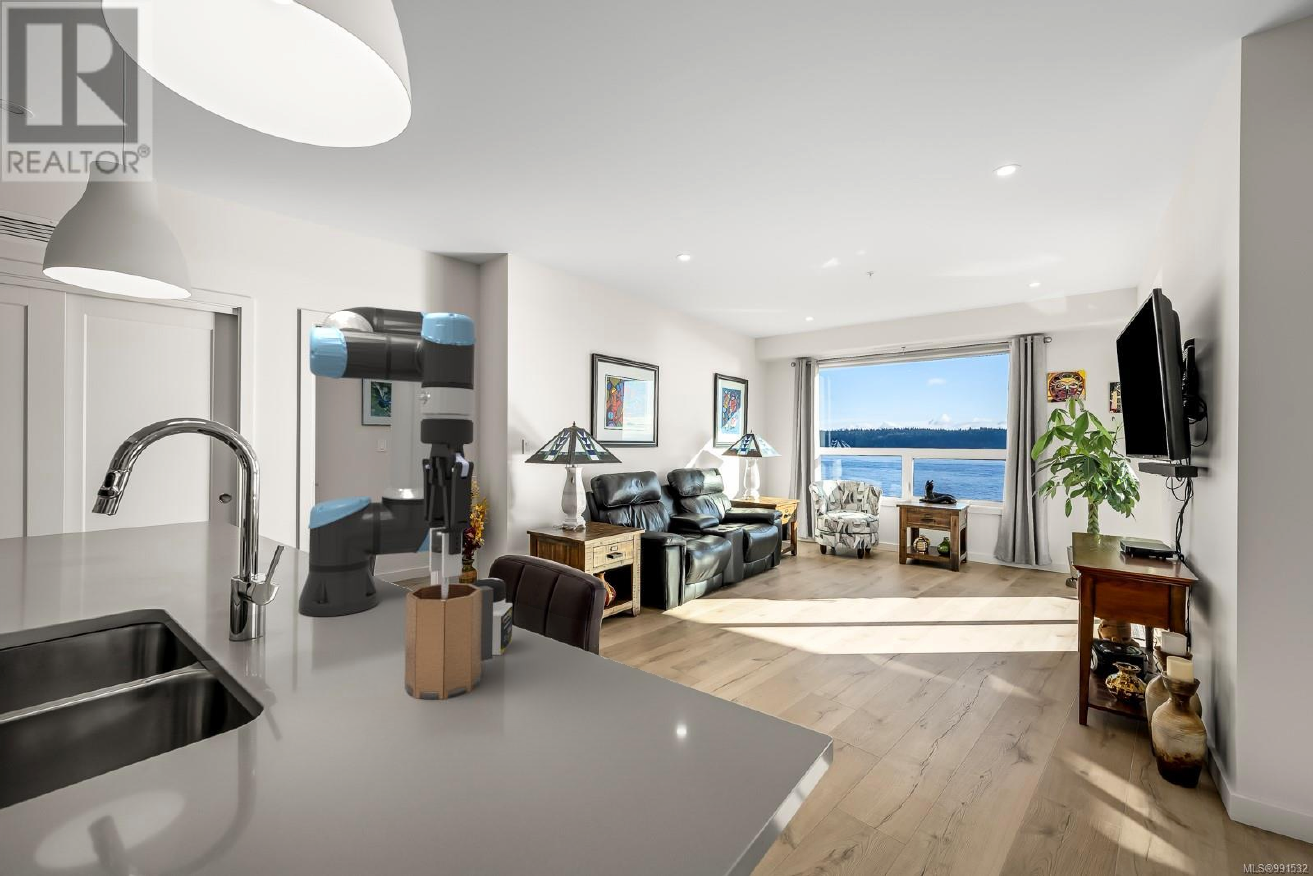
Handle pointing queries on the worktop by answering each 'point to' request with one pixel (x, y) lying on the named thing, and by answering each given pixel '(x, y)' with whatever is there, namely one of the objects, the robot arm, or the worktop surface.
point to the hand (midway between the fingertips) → (445, 572)
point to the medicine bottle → (499, 614)
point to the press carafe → (447, 639)
